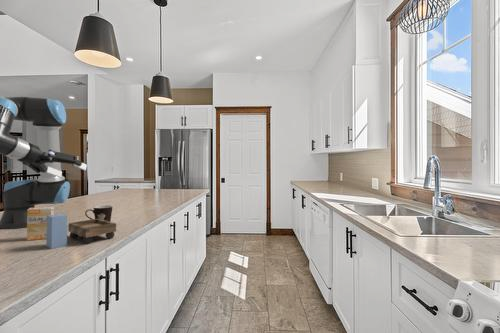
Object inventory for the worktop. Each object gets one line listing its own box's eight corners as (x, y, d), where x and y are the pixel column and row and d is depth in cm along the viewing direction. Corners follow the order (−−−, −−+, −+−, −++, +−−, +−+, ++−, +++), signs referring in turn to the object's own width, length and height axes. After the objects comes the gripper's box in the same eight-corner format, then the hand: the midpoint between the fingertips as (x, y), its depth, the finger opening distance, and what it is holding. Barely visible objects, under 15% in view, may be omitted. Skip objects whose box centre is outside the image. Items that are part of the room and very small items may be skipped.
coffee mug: (115, 224, 136) (116, 205, 136) (105, 228, 128) (105, 208, 127) (95, 223, 137) (95, 204, 137) (83, 227, 129) (83, 207, 129)
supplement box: (26, 241, 105) (26, 209, 105) (29, 238, 109) (30, 207, 109) (51, 238, 109) (51, 208, 109) (53, 235, 113) (53, 206, 113)
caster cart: (68, 238, 110) (68, 223, 110) (97, 232, 120) (97, 218, 120) (85, 245, 101) (86, 228, 101) (115, 238, 111) (116, 223, 111)
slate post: (46, 246, 99) (46, 215, 99) (61, 243, 103) (61, 213, 103) (51, 248, 96) (52, 217, 96) (66, 245, 100) (67, 215, 100)
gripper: (-6, 167, 96) (49, 185, 115) (47, 151, 91) (95, 172, 110) (0, 150, 99) (52, 169, 118) (51, 134, 94) (97, 157, 113)
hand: (73, 171), depth 114 cm, fingers open, 13 cm apart
